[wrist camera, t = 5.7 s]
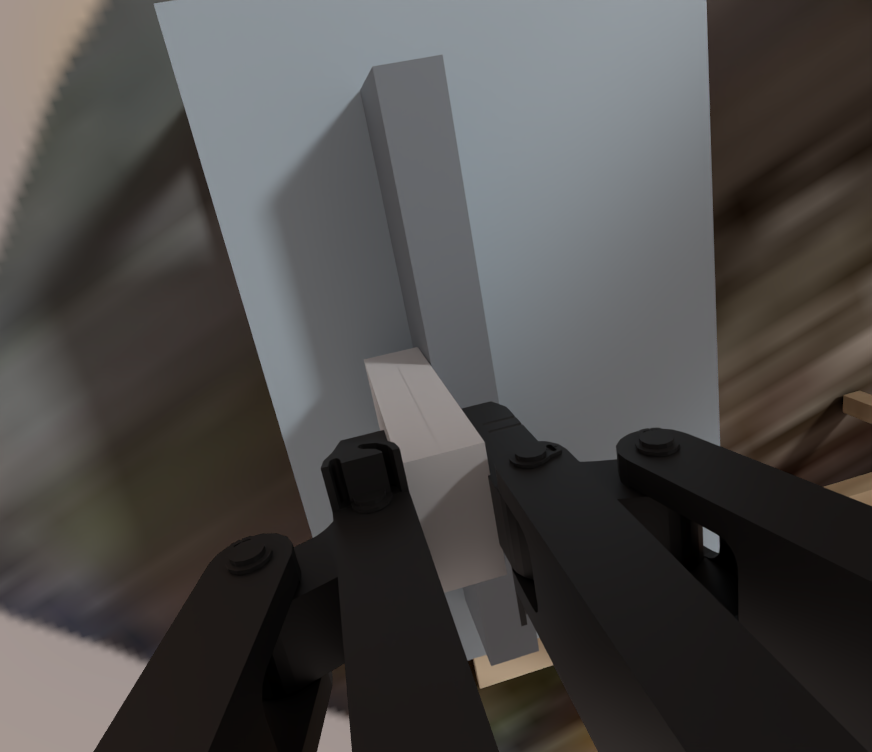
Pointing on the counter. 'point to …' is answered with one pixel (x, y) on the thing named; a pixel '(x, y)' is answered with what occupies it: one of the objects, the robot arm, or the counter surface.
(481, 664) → the cork coaster
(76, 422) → the counter surface
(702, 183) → the cover
